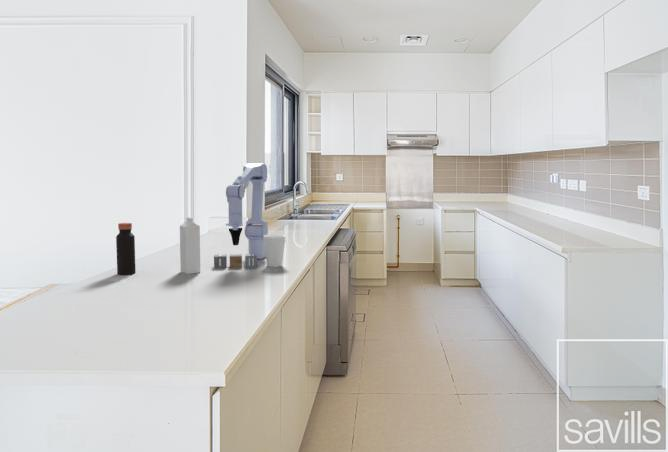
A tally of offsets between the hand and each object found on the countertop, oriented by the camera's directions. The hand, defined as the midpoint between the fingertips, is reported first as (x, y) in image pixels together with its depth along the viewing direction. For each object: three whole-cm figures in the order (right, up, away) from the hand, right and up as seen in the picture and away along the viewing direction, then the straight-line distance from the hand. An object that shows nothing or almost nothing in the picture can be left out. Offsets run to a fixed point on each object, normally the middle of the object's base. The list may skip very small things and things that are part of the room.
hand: (235, 245), depth 240 cm
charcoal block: (-6, -9, 0) cm, 11 cm away
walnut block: (0, -9, +1) cm, 9 cm away
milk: (-16, -11, -13) cm, 23 cm away
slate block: (+6, -9, +2) cm, 11 cm away
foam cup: (+16, -9, +4) cm, 19 cm away
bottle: (-40, -11, -17) cm, 45 cm away
